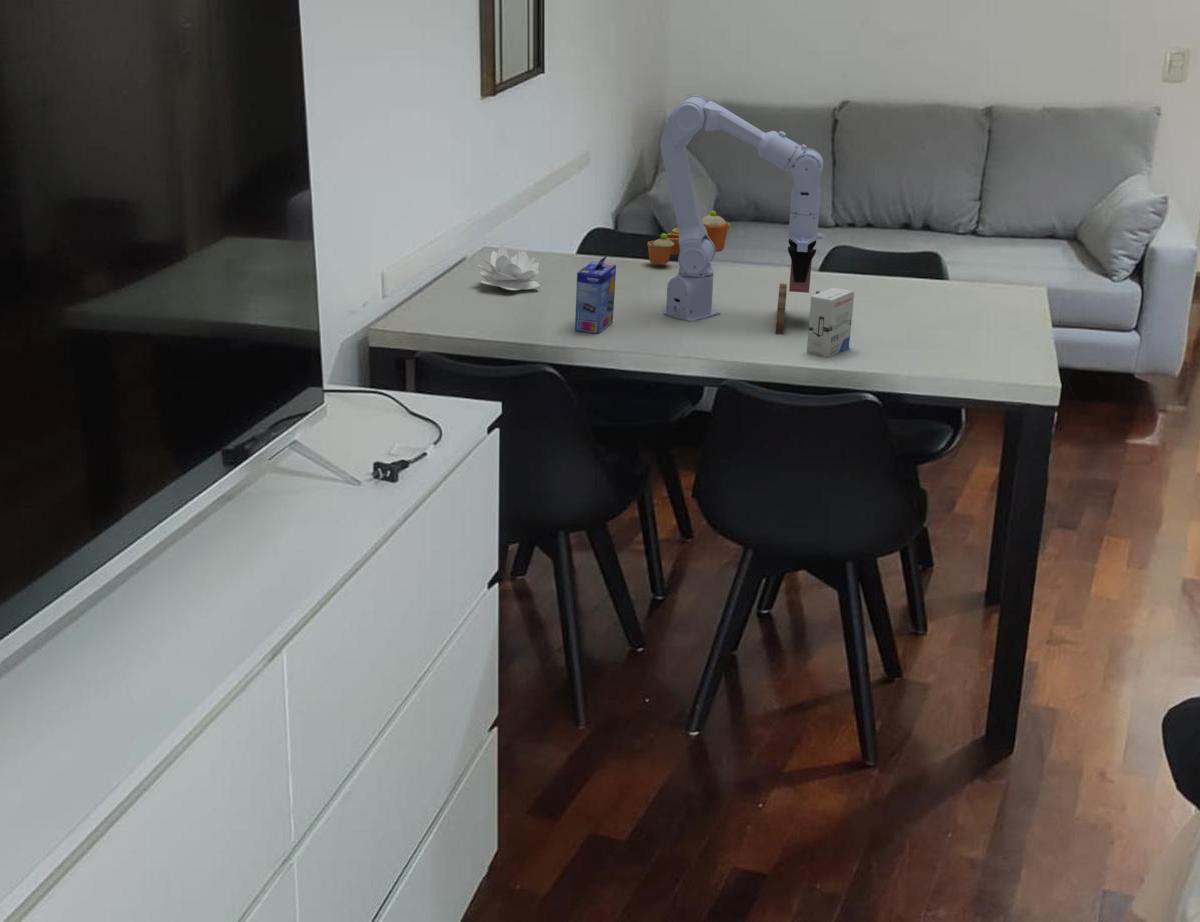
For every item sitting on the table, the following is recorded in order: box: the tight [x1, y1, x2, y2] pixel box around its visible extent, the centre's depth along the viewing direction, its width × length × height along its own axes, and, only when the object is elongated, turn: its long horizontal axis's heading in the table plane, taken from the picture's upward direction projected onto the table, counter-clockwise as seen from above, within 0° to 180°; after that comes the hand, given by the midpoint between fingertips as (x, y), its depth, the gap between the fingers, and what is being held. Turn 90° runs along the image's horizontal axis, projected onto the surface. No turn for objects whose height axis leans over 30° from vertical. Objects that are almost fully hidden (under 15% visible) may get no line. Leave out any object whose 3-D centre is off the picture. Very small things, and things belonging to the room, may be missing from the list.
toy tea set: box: [647, 210, 732, 265], centre depth 347 cm, size 26×16×10 cm, turn 158°
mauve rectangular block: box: [788, 259, 813, 294], centre depth 295 cm, size 5×4×7 cm
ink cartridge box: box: [574, 254, 617, 335], centre depth 289 cm, size 10×6×14 cm, turn 162°
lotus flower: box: [477, 244, 541, 291], centre depth 318 cm, size 14×15×9 cm
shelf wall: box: [775, 282, 788, 335], centre depth 297 cm, size 18×2×6 cm, turn 172°
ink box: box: [806, 287, 855, 358], centre depth 278 cm, size 9×5×12 cm, turn 141°
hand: (799, 278), depth 295 cm, fingers closed on mauve rectangular block, 5 cm apart
